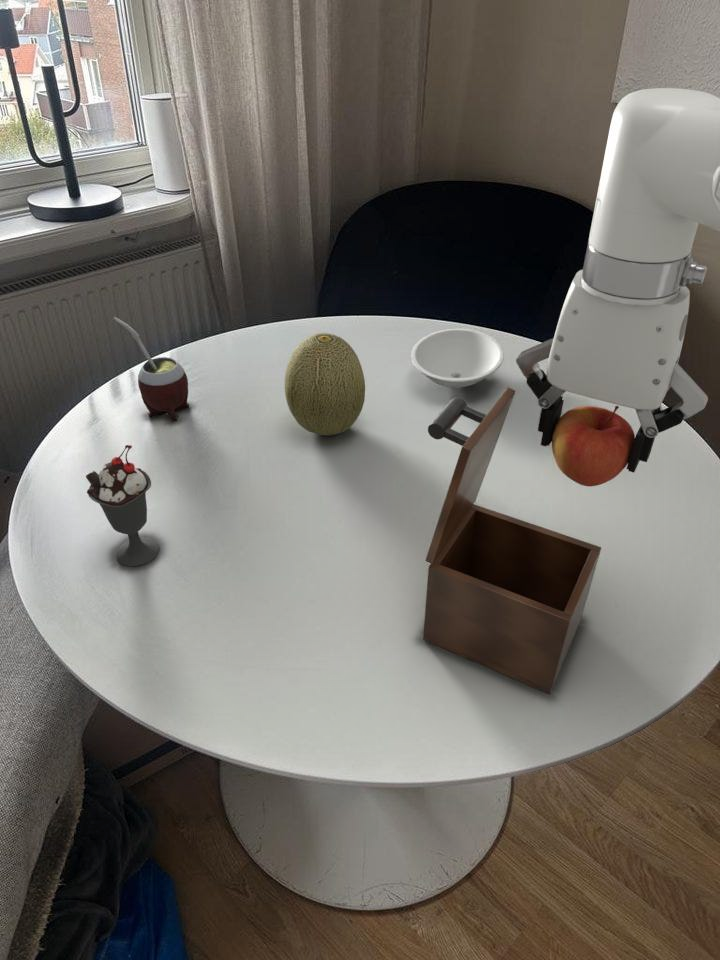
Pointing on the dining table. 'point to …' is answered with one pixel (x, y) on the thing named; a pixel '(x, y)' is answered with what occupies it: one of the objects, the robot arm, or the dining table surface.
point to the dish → (457, 356)
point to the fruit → (324, 384)
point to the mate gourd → (161, 383)
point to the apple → (592, 444)
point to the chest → (509, 595)
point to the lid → (465, 462)
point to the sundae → (125, 507)
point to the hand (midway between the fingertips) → (590, 450)
